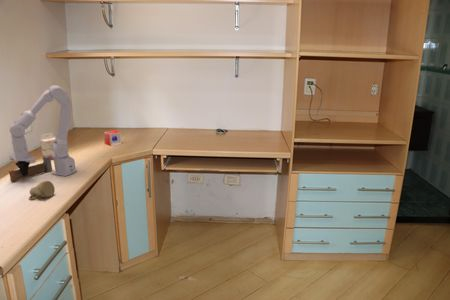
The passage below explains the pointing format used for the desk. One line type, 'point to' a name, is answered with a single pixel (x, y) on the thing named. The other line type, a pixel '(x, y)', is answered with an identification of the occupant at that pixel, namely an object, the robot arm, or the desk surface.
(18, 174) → the brown flat bar
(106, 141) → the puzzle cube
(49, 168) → the gate post
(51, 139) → the ink cartridge box
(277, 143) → the desk surface
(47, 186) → the grey rounded lump
